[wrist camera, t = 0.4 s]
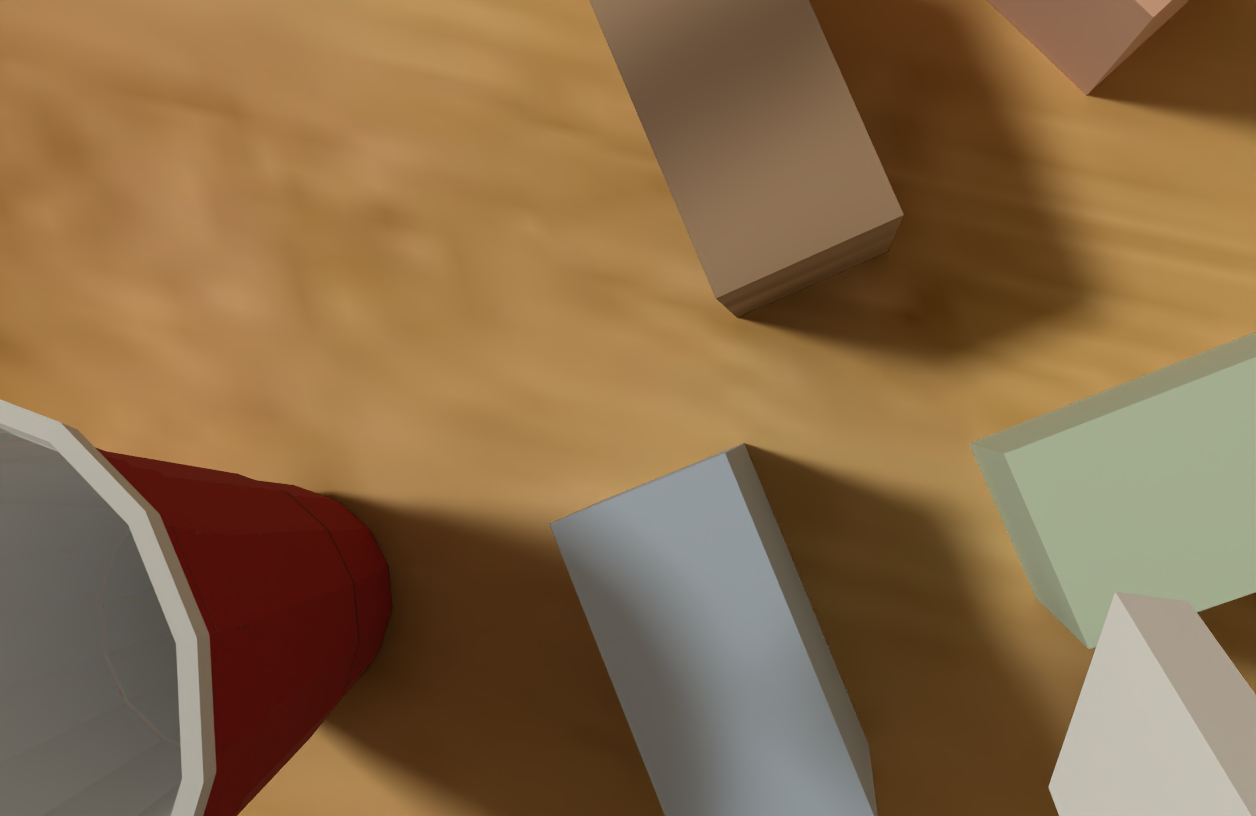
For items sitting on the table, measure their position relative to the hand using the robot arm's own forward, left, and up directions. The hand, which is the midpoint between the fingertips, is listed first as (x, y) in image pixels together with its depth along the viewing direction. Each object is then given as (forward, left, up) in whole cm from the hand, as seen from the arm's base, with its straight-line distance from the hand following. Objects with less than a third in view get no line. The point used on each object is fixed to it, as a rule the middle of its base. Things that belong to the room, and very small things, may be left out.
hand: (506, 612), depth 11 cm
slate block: (-3, 0, -14) cm, 15 cm away
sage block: (-3, -11, -14) cm, 18 cm away
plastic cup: (+2, +11, -14) cm, 18 cm away
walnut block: (+8, -5, -14) cm, 17 cm away
